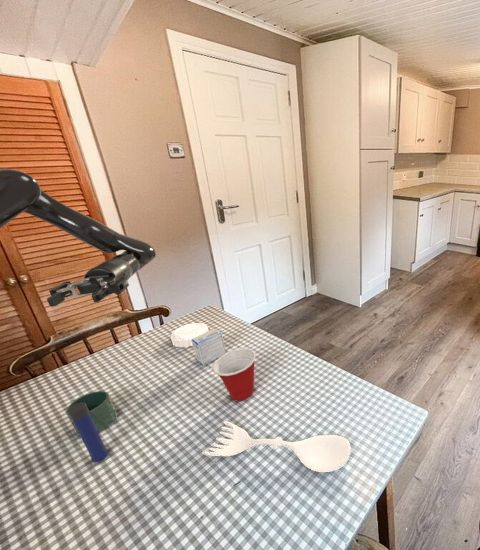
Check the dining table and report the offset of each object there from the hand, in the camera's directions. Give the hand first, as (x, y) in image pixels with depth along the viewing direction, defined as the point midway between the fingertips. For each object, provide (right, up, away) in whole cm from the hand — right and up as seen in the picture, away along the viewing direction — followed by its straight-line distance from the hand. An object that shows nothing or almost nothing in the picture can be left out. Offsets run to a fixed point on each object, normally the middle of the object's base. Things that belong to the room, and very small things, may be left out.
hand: (72, 300), depth 69 cm
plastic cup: (+32, -28, +16) cm, 46 cm away
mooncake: (+3, -18, +42) cm, 46 cm away
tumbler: (-1, -32, +7) cm, 32 cm away
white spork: (+48, -35, 0) cm, 59 cm away
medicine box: (+16, -22, +32) cm, 42 cm away
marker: (+8, -35, -2) cm, 36 cm away
